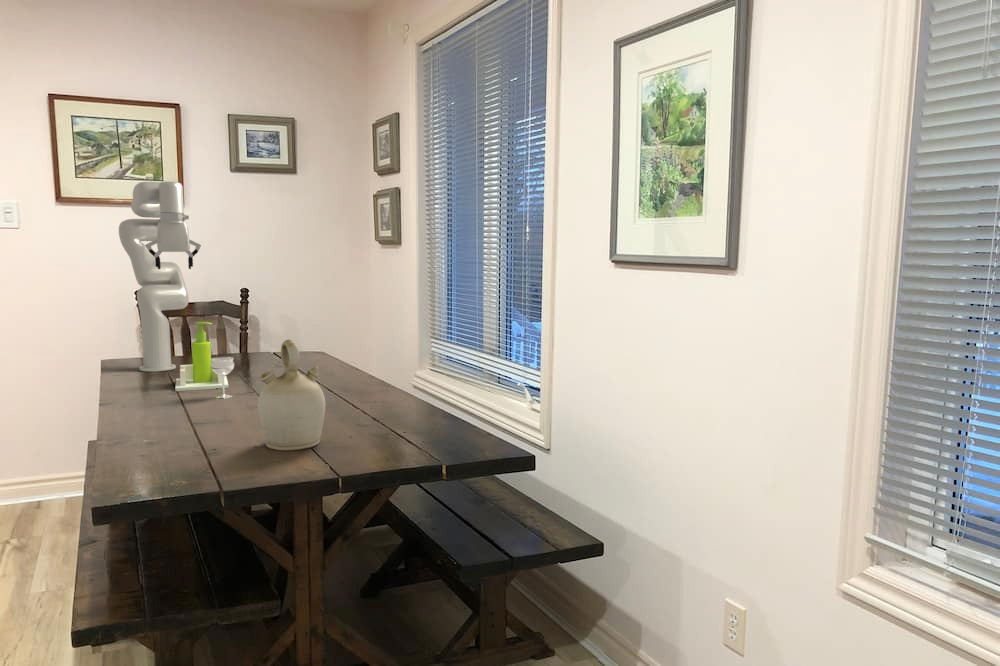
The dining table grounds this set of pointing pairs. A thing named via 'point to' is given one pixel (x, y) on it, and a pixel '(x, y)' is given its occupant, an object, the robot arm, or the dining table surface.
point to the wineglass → (222, 369)
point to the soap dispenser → (201, 356)
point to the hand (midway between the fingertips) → (174, 269)
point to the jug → (291, 404)
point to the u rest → (188, 384)
